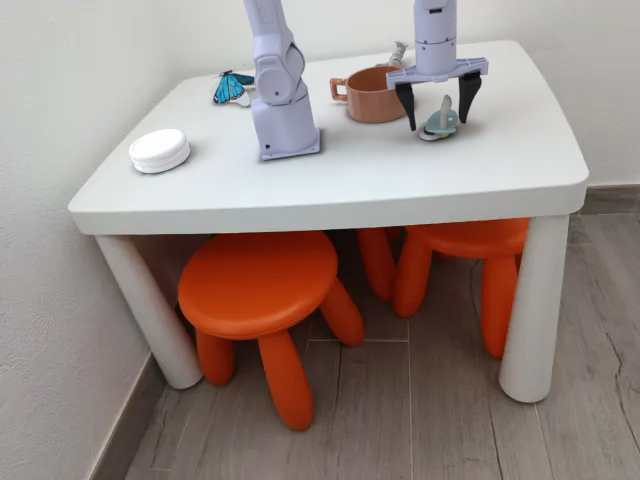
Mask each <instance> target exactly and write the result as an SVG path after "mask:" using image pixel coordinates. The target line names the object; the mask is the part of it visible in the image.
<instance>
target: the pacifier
mask: <svg viewBox="0 0 640 480" xmlns="http://www.w3.org/2000/svg"><path fill="white" fill-rule="evenodd" d="M452 105H453V99H452V98H451V96H450V95H448V94H444V96H443V98H442V101H441V105H440V109H438V110H437V111H435V112H434V113H432V114H431V115H430V117H429V118H428V119H427V121H425V122H423V123H422V124H421V125H420V126H419V128H418V131H417V132H418V136H419V137H420V138H421V139H422V140H425V141H434V140H438V139H440V138H441V139H442V138H446V137H448V136H449V135H450V134H452V133H455V132H456V131H457V129H456V128H455V127H456V126H457V124H458V121H459V114H458V113H457V112H456V110H454V109H452ZM450 118H452V119H450ZM425 131H426V132H429V133H432V134H427V133H425Z"/></svg>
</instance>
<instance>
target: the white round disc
mask: <svg viewBox="0 0 640 480" xmlns="http://www.w3.org/2000/svg"><path fill="white" fill-rule="evenodd" d="M190 154H191V146H190V145H189V141H188V139H187V136H186V134H185V132H184V131H182V130H179V129H176V128H163V129H158V130H155V131H152V132H149V133H147V134H143V136H141V137H139V138H137V139H136V140H135V141H134V142H133V143H132V144H131V145H130V147H129V148H128V155H129V157H130V158H131V161H132V163H133V165H134V168H135V169H136V170H137V171H138V172H141V173H145V174H157V173H158V174H159V173H162V172H166V171H168V170H171V169H174V168H177V167H178V166H180V165H181V164H182V163H184V162H185V161H187V158H188V157H189V156H190Z"/></svg>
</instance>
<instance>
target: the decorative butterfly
mask: <svg viewBox="0 0 640 480" xmlns="http://www.w3.org/2000/svg"><path fill="white" fill-rule="evenodd" d="M245 65H246V63H245V64H243V66H245ZM234 71H235V68H234V69H230V70H226V71H223V72H221V73H219V74H217V75H214V76H213V77H212V79H217V78H218V79H217V81H216V82H215V83H214V84H213V85H212V86H210V88H209V96H210V99H211V100H212V101H213V102H214V103H215V104H219V105H221V104H225V103H227V102H228V103H235V104H239V105H240V106H243V107H247V106H248V107H249V105H250V97H249V95H248V93H247V90H246V89H245V87H249V86H255V85H254V78H255V76H252V75H247V74H241V73H236V72H234Z"/></svg>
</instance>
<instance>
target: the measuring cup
mask: <svg viewBox="0 0 640 480" xmlns="http://www.w3.org/2000/svg"><path fill="white" fill-rule="evenodd" d="M404 68H405V67H403V66H393V65H383V66H374V65H373V66H370V67H366V68H362V69H359V70H357V71H356V72H353V73H352V74H350V75H349V76H348V77H347V78H341V77H339V78H338V77H331V78H330V79H329V88H330V94H331V99H332V100H333V101H337V102H347V108H348V113H349V116H350V117H351V118H352V119H353V120H355V121H357V122H362V123H367V124H375V123H376V124H377V123H378V124H379V123H386V122H390V121H395V120H397V119H400V118H402V117H404V116H405V115H407V113H406V111H405V109H404V107H403V105H402V104H401V102H400V101H399V99H398V97H397V95H396V91H395V89H393V90H388V87H387V80H386V73H389V72H394V71H397V70H401V69H404ZM338 86H341V87H342V86H343V87H345V93H339V92H338ZM411 86H412V87H413V85H411Z"/></svg>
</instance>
